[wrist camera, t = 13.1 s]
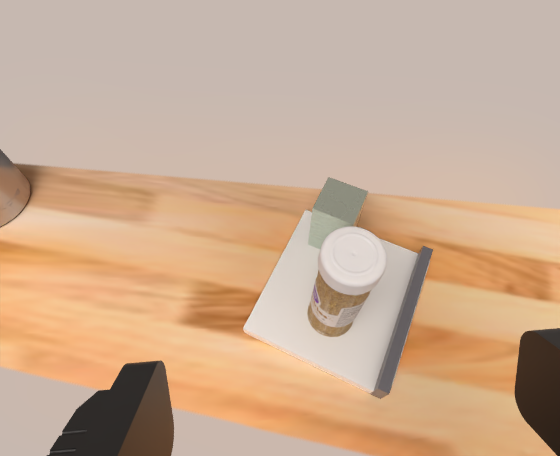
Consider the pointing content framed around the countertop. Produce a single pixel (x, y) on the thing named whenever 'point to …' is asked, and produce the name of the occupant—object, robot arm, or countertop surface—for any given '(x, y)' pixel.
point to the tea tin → (335, 210)
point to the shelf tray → (366, 326)
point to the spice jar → (345, 278)
